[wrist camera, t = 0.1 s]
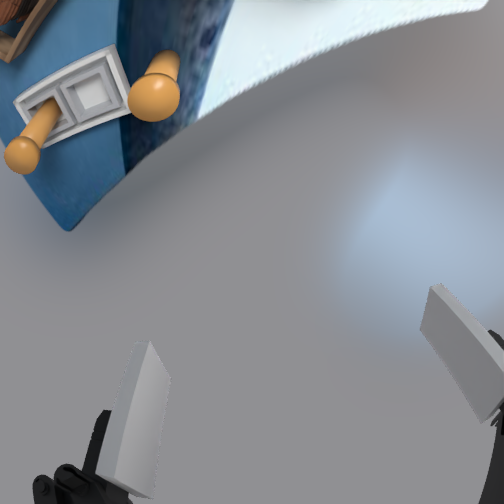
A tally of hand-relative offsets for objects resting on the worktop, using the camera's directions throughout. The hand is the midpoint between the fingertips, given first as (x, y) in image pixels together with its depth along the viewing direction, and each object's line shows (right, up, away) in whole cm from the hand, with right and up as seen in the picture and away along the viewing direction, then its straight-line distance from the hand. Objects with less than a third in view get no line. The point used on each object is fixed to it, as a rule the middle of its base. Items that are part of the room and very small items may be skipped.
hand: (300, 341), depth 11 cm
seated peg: (-32, +26, +17) cm, 45 cm away
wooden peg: (-14, +29, +17) cm, 37 cm away
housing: (-29, +27, +17) cm, 43 cm away
